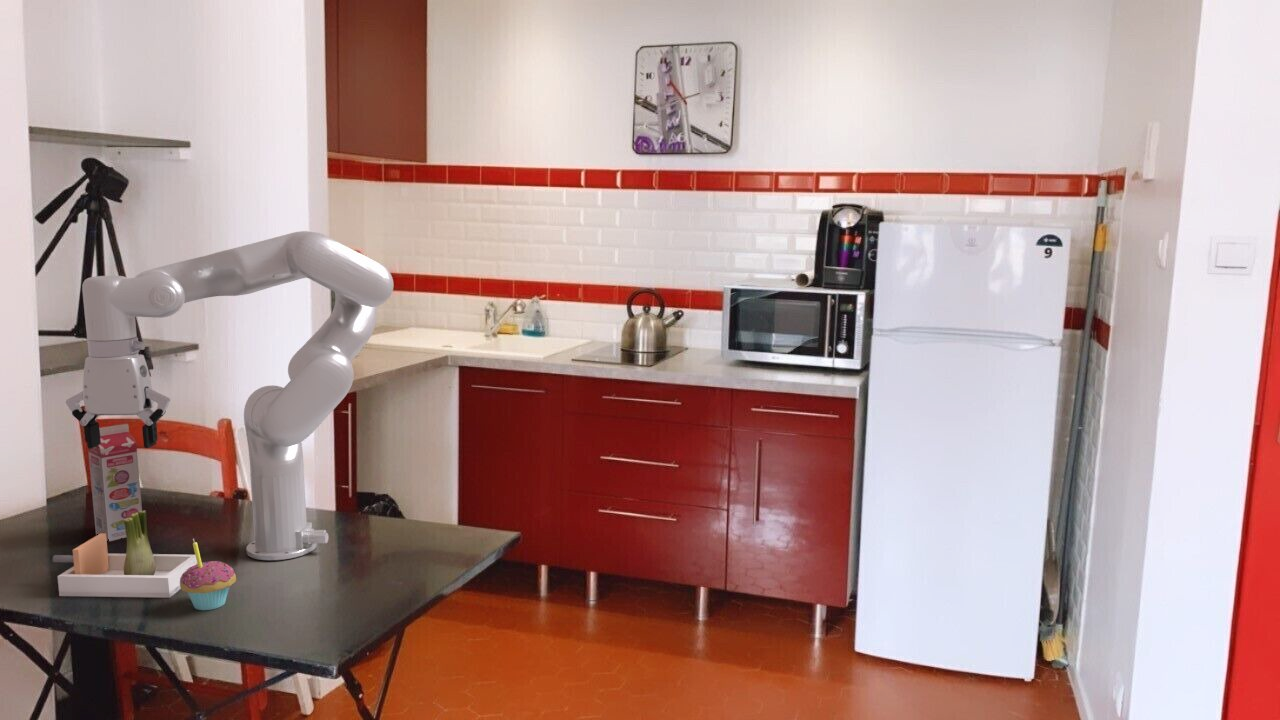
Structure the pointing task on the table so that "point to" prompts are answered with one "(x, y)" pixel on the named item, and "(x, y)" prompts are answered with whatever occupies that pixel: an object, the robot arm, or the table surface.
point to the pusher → (88, 556)
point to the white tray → (128, 579)
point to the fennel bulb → (138, 546)
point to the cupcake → (207, 582)
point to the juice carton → (114, 481)
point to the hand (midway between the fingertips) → (122, 446)
